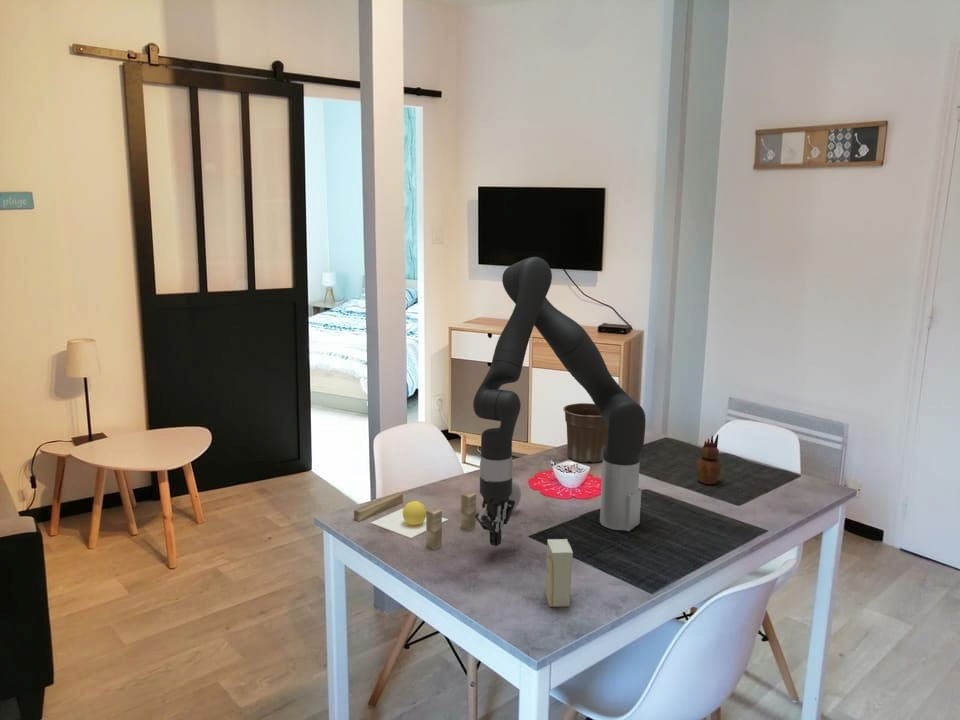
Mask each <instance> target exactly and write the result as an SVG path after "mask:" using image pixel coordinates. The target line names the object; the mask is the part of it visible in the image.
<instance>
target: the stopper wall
mask: <svg viewBox="0 0 960 720" xmlns="http://www.w3.org/2000/svg"><path fill="white" fill-rule="evenodd" d="M403 496H404V495H403V493H402V492H395V493H392V494H389V495H387V496H385V497H382V498H380V499H378V500H376V501H373V502H370V503H368V504H365V505H364V506H361V507H358V508H357V509H354V510H353V520H354V521H358V522H359V523H360V522H361V521H364V520H367V519H369V518H371V517H373V516H375V515H377V514H378V515H379V514H380V513H382V512H384V511H386V510H390V509H392V508H394V507H396V506H399V505H401V504H404V497H403Z"/></svg>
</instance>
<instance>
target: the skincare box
mask: <svg viewBox="0 0 960 720" xmlns="http://www.w3.org/2000/svg"><path fill="white" fill-rule="evenodd" d="M546 544H547V545H546V547H547V548H546V559H545V560H546V561H545V563H546V565H545V576H544V577H545V579H544V580H545V582H544V593H545V598H546V601H547V603H548V607H550V608H553V607H561V608H562V607H570V602H571V589H572V572H573V556H574V554H573V553H574V552H573V549H572V546H571V544H570V542H569V541H568V538H562V539H561V538H548V539H547V542H546Z"/></svg>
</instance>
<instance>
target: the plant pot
mask: <svg viewBox="0 0 960 720" xmlns="http://www.w3.org/2000/svg"><path fill="white" fill-rule="evenodd" d="M563 412H564V420H565V423H566V440H567V441H566V442H567V445H566V446H567V456H568V458H569V459H570V460H573V461H574V462H577V463H579V462H580V463H586V464H587V463H588V462H591V463H592V464H594V463H600V462H603V449H604V447H605V446H607V441H608V426H607V424H606V423H605V422H604V420H603V418H602V416H601V414H600V412H599V410H598V409H597V407H596V405H595V403H587V402H585V403H584V402H582V403H581V402H580V403H571V404H570V403H569V404H567V405H565V406H564V407H563Z"/></svg>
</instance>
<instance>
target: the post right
mask: <svg viewBox="0 0 960 720" xmlns="http://www.w3.org/2000/svg"><path fill="white" fill-rule="evenodd" d="M460 496H461V500H460V503H461V505H460V506H461V507H460V508H461V509H460V512H461V513H460V518H461V519H460V528H461V530H465V531H468V532H470V531H472V530H474V529H476V527H477V526H476V525H477V521H476V520H477V519H476V517H475V516H476V514H477V494H476V493H474V492H470V491H466V492H464V493H462V494H460Z"/></svg>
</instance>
